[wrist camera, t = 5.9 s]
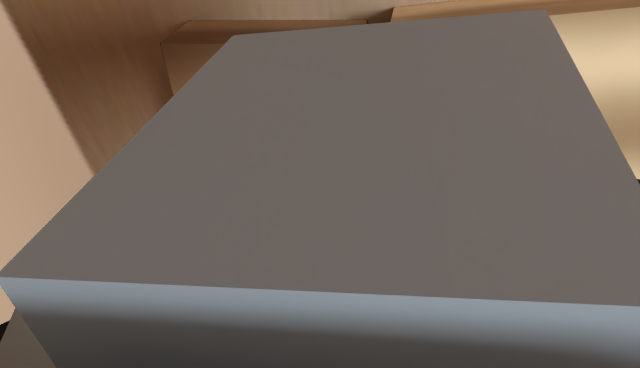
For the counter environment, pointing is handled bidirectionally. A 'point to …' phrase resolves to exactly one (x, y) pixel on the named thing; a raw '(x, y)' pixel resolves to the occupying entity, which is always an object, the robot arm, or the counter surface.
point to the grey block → (353, 212)
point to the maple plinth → (579, 51)
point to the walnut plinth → (221, 41)
